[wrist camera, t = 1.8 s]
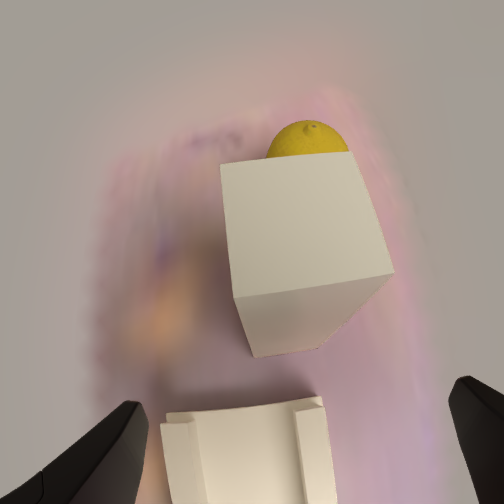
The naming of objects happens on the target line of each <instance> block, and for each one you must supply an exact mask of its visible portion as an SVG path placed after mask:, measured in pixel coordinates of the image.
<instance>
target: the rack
mask: <svg viewBox="0 0 504 504" xmlns="http://www.w3.org/2000/svg"><path fill="white" fill-rule="evenodd" d="M166 420H167V422H166V423H162V424H160V429H161V436H162V444H163V451H164V458H165V464H166V470H167V477H168V482H169V488H170V493H171V499H172V504H337V496H336V487H335V479H334V471H333V463H332V455H331V448H330V440H329V433H328V426H327V419H326V413H325V407H324V406H323V403H322V397H321V396H314V397H309V398H303V399H298V400H292V401H285V402H279V403H272V404H265V405H257V406H249V407H240V408H230V409H219V410H205V411H189V412H171V413H166Z"/></svg>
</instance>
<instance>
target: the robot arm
mask: <svg viewBox="0 0 504 504" xmlns="http://www.w3.org/2000/svg"><path fill="white" fill-rule="evenodd" d="M448 402H449V407H450V411H451V414H452V418H453V421H454V425H455V429H456V433H457V437H458V440H459V444H460V447H461V450H462V453H463V455H464V458H465V461H466V464H467V467H468V470H469V473H470V475H471V479H472V482H473V485H474V488H475V491H476V495H477V498H478V501H479V504H504V395H503V394H501V393H500V392H498V391H496V390H494V389H493V388H491V387H489V386H487V385H486V384H484V383H482V382H480V381H479V380H477V379H475V378H473V377H471V376H464V377H460V378H458V379H457V380H456V382H455V384H454V387H453V389H452V391H451V393H450V396H449V400H448ZM148 428H149V423H148V419H147V417H146V414H145V412H144V409H143V406H142V404H141V403H140V402H138V401H130V400H127V401H124V402H123V403H122V404H121V405H120V406H118V407H117V408H116V409H115V410H114V411H113V412H111V413H110V414H109V415H108V416H107V417H105V418H104V419H103V420H102V421H101V422H99V423H98V424H97V425H96V426H95V427H93V428H92V429H91V430H90V431H89V432H87V433H86V434H85V435H84V436H83V437H81V438H80V439H79V440H78V441H77V442H75V443H74V444H73V445H72V446H71V447H69V448H68V449H67V450H66V451H64V452H63V453H62V454H61V455H59V456H58V457H57V458H56V459H55V460H53V461H52V462H51V463H50V464H48V465H47V466H46V467H45V468H43V470H42V471H39V472H38V473H37V474H36V475H34V476H33V477H32V478H31V479H29V480H28V481H27V482H25V483H24V484H22V485H21V486H20V487H18V488H17V489H15V490H13V491H12V492H10V493H9V494H7V495H6V496H4V497H2V498H1V499H0V504H135V500H136V496H137V492H138V488H139V484H140V480H141V476H142V471H143V465H144V457H145V449H146V442H147V435H148Z"/></svg>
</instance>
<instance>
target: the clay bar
mask: <svg viewBox="0 0 504 504" xmlns="http://www.w3.org/2000/svg"><path fill="white" fill-rule="evenodd" d="M220 174H221V185H222V195H223V205H224V215H225V225H226V235H227V244H228V254H229V263H230V272H231V281H232V290H233V298H234V301H235V304H236V307H237V310H238V313H239V316H240V319H241V322H242V325H243V328H244V331H245V334H246V336H247V339H248V342H249V345H250V348H251V351H252V354H253V356H254V358H261V357H268V356H275V355H282V354H288V353H294V352H300V351H306V350H312V349H318V348H319V347H320V346H321V345H322V344H323V343H324V342H325V341H326V340H328V339H329V338H330V337H331V336H332V335H333V334H334V333H335V332H336V331H337V330H338V329H339V328H340V327H342V326H343V325H344V324H345V323H346V322H347V321H348V320H349V319H350V318H351V317H352V316H353V315H354V314H355V313H356V312H357V311H358V310H359V309H360V308H361V307H362V306H363V305H364V304H365V303H366V302H367V301H368V300H369V299H370V298H371V297H372V296H373V295H374V294H375V293H376V292H377V291H378V290H379V289H380V288H381V287H382V286H383V285H384V284H385V283H386V282H387V281H388V280H389V279H390V278H391V277H392V275H393V274H394V273H395V272H394V268H393V265H392V262H391V258H390V255H389V252H388V249H387V246H386V242H385V239H384V236H383V233H382V230H381V227H380V224H379V221H378V219H377V216H376V213H375V210H374V207H373V205H372V202H371V199H370V196H369V194H368V191H367V188H366V186H365V183H364V181H363V178H362V176H361V173H360V171H359V168H358V166H357V163H356V161H355V158H354V156H353V154H352V151H348V152H332V153H319V154H307V155H295V156H285V157H275V158H266V159H258V160H250V161H242V162H234V163H227V164H220Z"/></svg>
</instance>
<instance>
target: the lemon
mask: <svg viewBox="0 0 504 504" xmlns="http://www.w3.org/2000/svg"><path fill="white" fill-rule="evenodd" d="M332 152H348V147H347V145H346V143H345V141H344V140H343V138H342V137H341V136H340V135H339V134H338V133H337V132H336V131H335V130H334V129H333V128H331V127H330V126H328V125H326V124H324V123H321V122H318V121H311V120H306V121H298V122H295V123H292V124H290V125H288V126H287V127H285V128H283V129H282V130H281V131H280V132H279V133H278V134H277V135H276V137H275V138H274V140H273V142H272V144H271V146H270V148H269V150H268V153H267V157H266V158H275V157H285V156H295V155H307V154H319V153H332Z"/></svg>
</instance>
